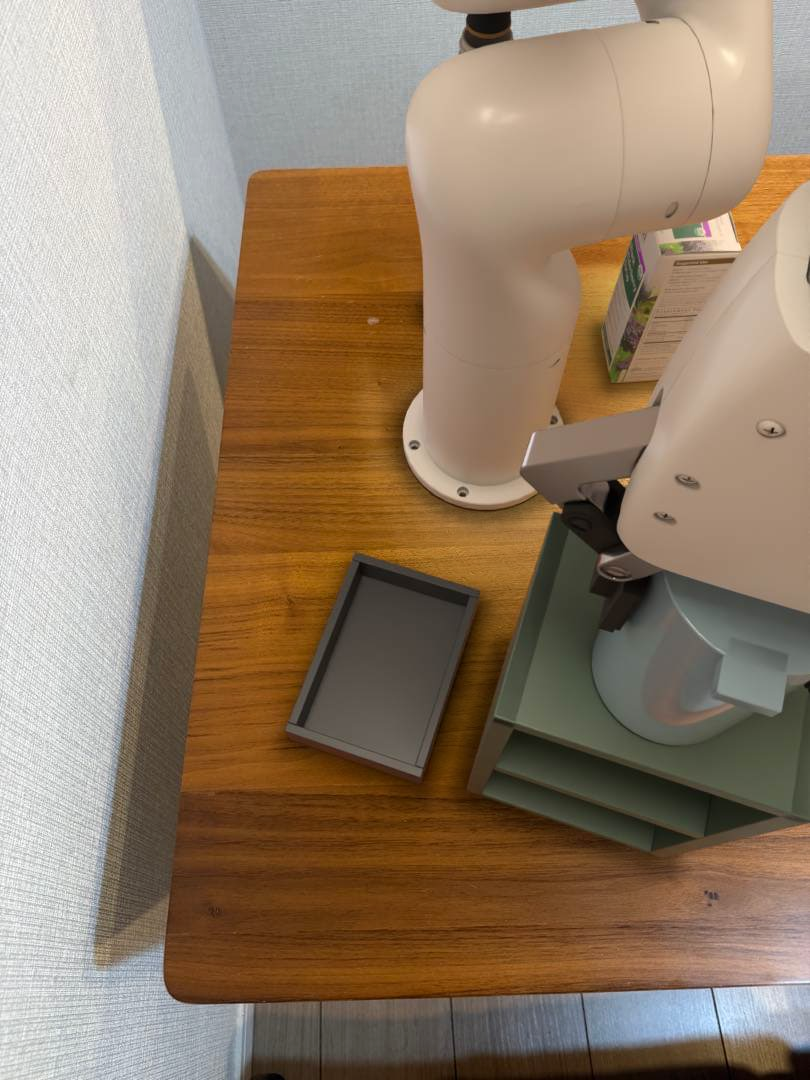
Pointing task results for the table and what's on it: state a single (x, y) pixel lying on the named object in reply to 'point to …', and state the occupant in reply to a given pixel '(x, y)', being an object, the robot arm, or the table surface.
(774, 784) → the shelf
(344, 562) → the table surface
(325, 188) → the table surface
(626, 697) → the jug
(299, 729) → the tray
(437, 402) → the robot arm
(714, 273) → the syrup box
